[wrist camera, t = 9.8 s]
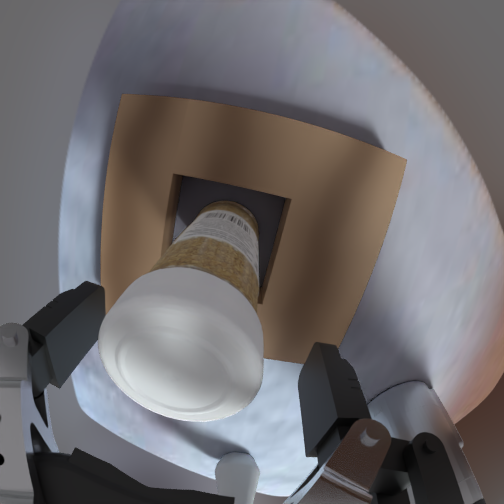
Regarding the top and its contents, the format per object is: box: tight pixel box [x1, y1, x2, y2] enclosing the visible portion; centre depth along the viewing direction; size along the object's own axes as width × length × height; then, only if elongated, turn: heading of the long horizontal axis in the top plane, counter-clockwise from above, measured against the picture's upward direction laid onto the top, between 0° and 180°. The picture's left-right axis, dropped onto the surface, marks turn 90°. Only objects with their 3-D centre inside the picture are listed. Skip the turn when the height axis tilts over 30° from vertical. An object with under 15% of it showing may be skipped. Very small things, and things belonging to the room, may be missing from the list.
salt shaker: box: [215, 452, 260, 504], centre depth 23 cm, size 6×6×13 cm
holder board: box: [101, 94, 407, 364], centre depth 18 cm, size 18×16×2 cm
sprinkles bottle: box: [98, 201, 264, 422], centre depth 12 cm, size 5×5×13 cm
